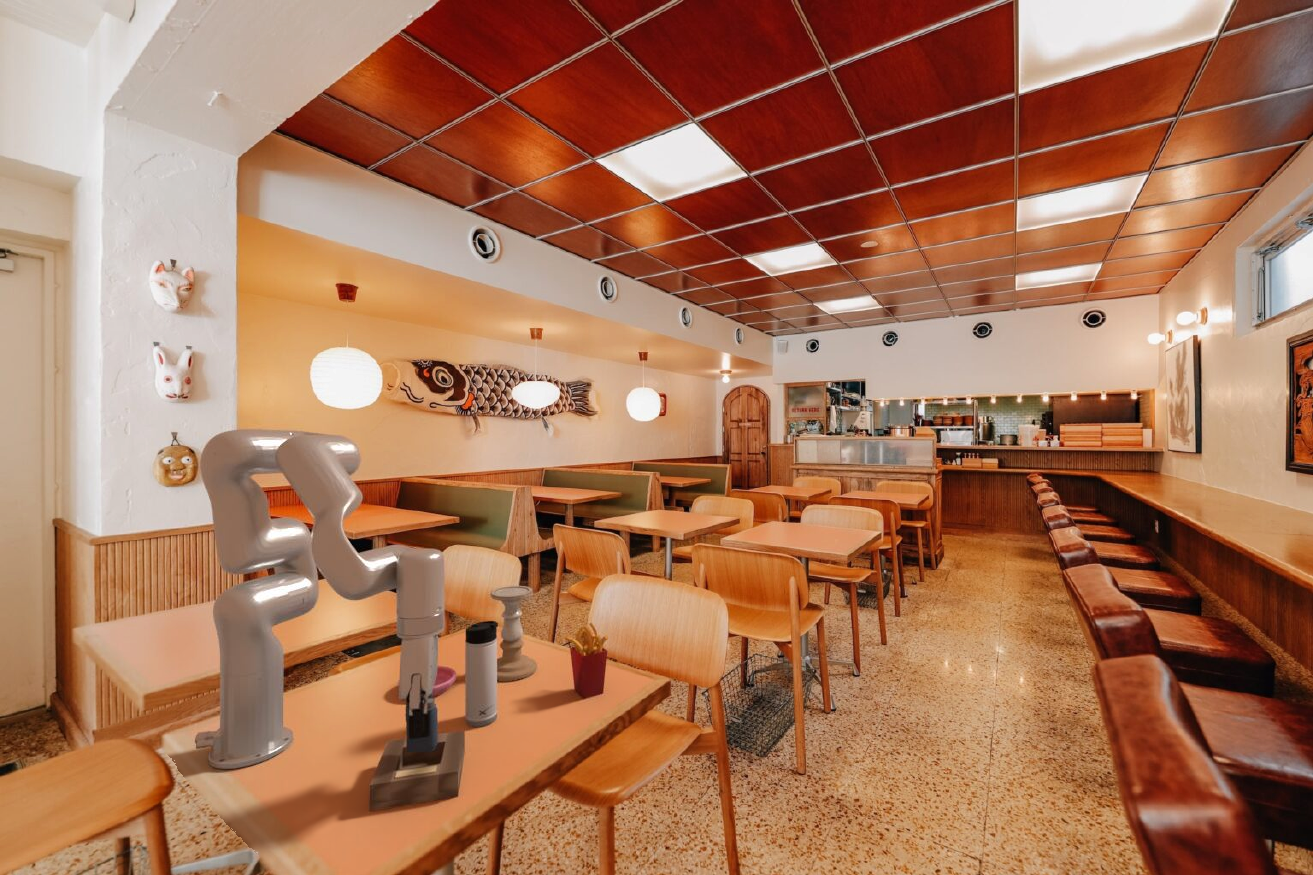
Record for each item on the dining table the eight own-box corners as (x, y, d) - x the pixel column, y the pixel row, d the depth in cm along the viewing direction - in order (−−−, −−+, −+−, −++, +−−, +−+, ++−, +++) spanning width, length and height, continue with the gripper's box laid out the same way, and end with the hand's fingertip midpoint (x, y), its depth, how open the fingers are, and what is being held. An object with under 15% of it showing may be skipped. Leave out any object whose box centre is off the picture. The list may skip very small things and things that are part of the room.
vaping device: (410, 744, 93) (409, 674, 93) (440, 744, 93) (439, 674, 93) (402, 752, 90) (402, 681, 91) (433, 753, 90) (433, 681, 90)
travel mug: (489, 728, 108) (488, 628, 108) (459, 725, 109) (459, 626, 109) (504, 713, 114) (503, 618, 114) (475, 710, 115) (475, 617, 115)
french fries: (609, 693, 123) (608, 627, 123) (576, 703, 118) (575, 635, 118) (590, 679, 130) (590, 617, 130) (559, 688, 125) (559, 624, 125)
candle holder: (522, 657, 144) (521, 581, 144) (546, 671, 135) (546, 591, 135) (477, 670, 135) (477, 590, 136) (500, 686, 126) (500, 600, 127)
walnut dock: (369, 810, 84) (369, 783, 84) (387, 763, 96) (388, 739, 96) (458, 796, 87) (458, 770, 87) (464, 751, 100) (464, 729, 100)
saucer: (462, 693, 124) (462, 679, 124) (403, 708, 117) (403, 693, 117) (448, 674, 134) (448, 661, 134) (394, 687, 127) (394, 673, 127)
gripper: (406, 610, 99) (406, 711, 99) (386, 642, 83) (386, 761, 83) (449, 607, 101) (450, 705, 101) (438, 637, 85) (438, 754, 85)
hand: (421, 729), depth 92 cm, fingers closed on vaping device, 3 cm apart
